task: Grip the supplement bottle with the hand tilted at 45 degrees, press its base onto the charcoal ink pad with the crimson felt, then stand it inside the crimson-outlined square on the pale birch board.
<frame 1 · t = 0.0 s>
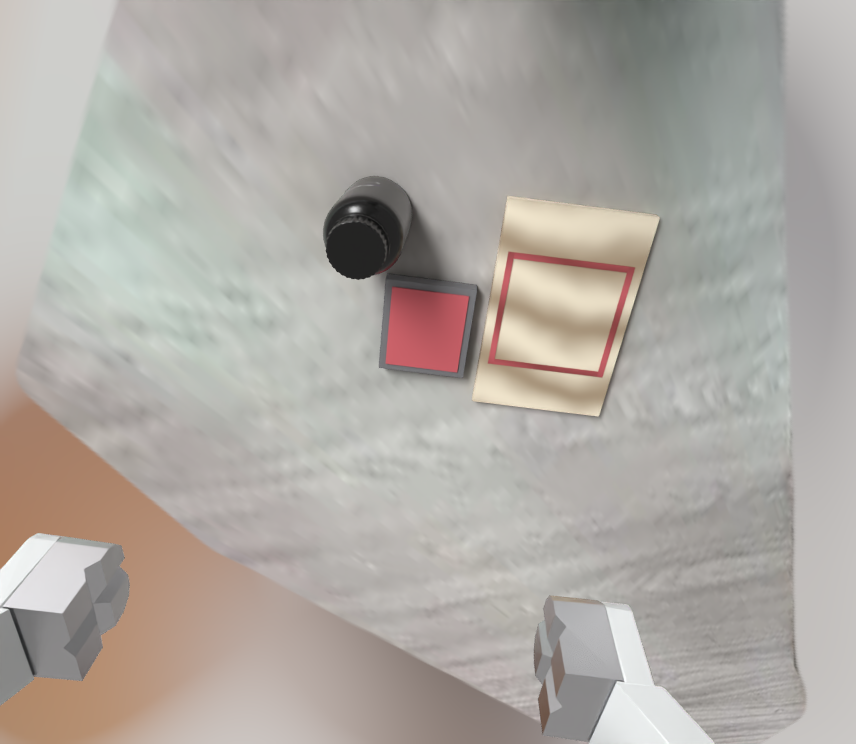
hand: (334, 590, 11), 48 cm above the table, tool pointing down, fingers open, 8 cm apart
supplement bottle: (377, 211, 56), on the table
marked board: (556, 313, 60), on the table
ink pad: (426, 324, 61), on the table
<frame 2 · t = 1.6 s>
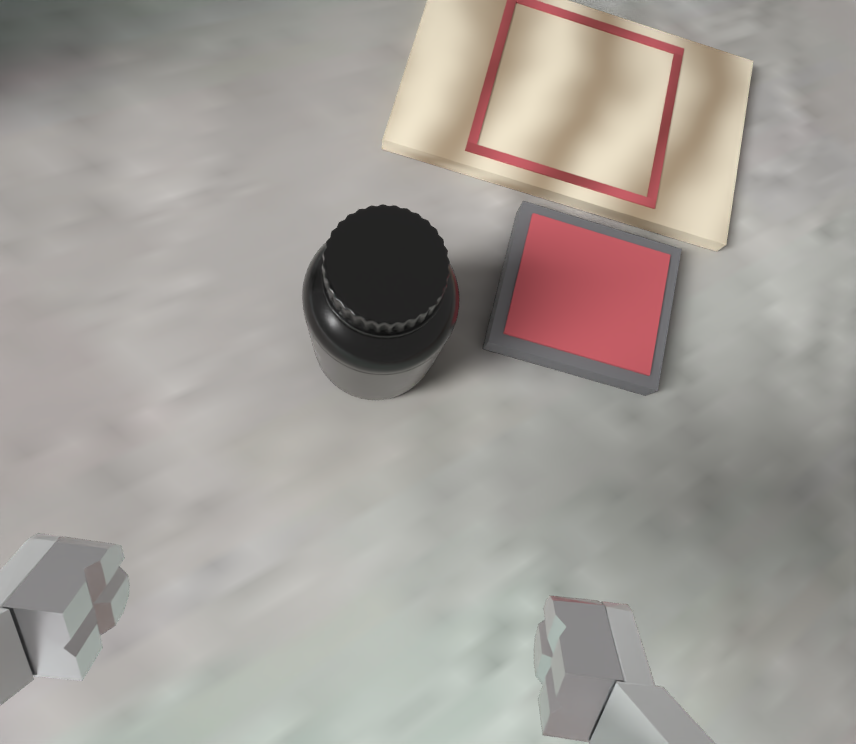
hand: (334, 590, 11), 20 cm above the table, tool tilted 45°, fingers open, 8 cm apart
supplement bottle: (375, 345, 33), on the table
marked board: (573, 108, 38), on the table
ink pad: (579, 302, 35), on the table
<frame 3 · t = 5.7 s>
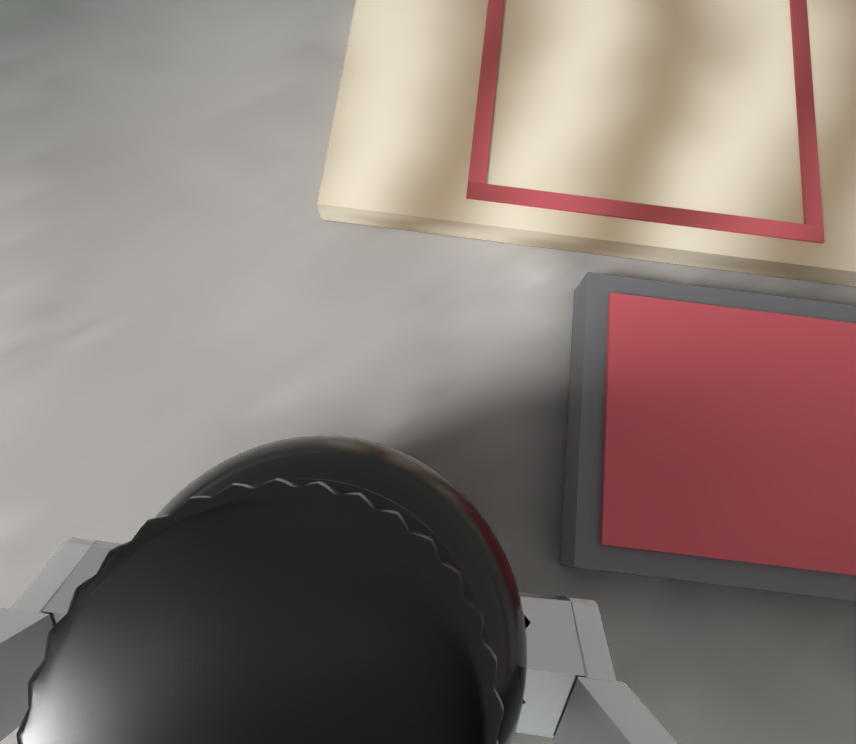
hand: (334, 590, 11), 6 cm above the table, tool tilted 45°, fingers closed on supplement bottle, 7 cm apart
supplement bottle: (355, 592, 17), on the table, touching gripper
marked board: (636, 93, 22), on the table
ink pad: (720, 437, 19), on the table
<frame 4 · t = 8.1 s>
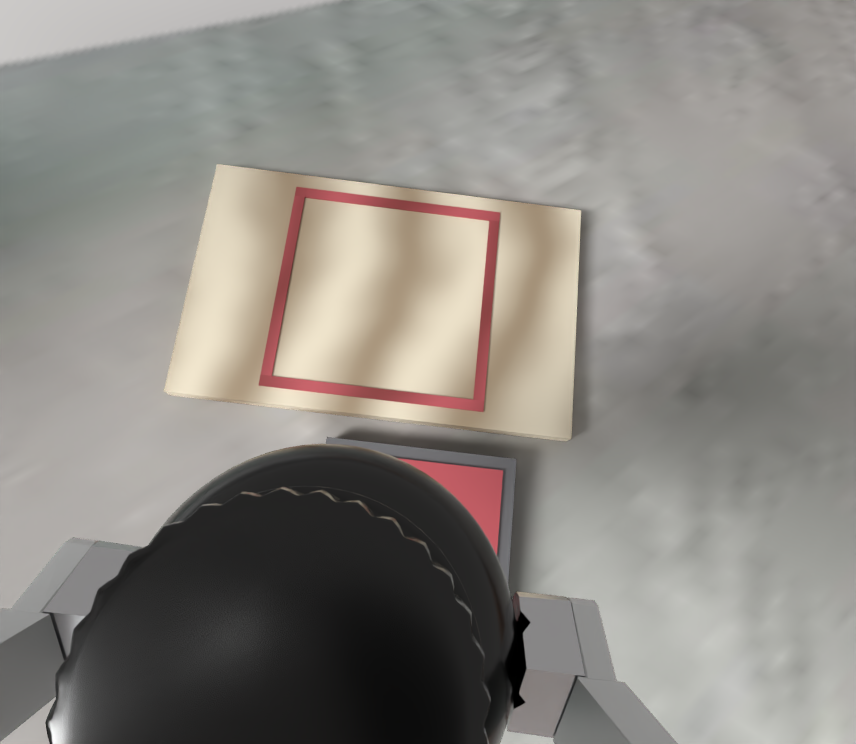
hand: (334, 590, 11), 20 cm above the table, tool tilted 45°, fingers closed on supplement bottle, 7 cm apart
supplement bottle: (356, 592, 18), point 13 cm above the table, touching gripper
marked board: (386, 301, 34), on the table
ink pad: (411, 536, 31), on the table
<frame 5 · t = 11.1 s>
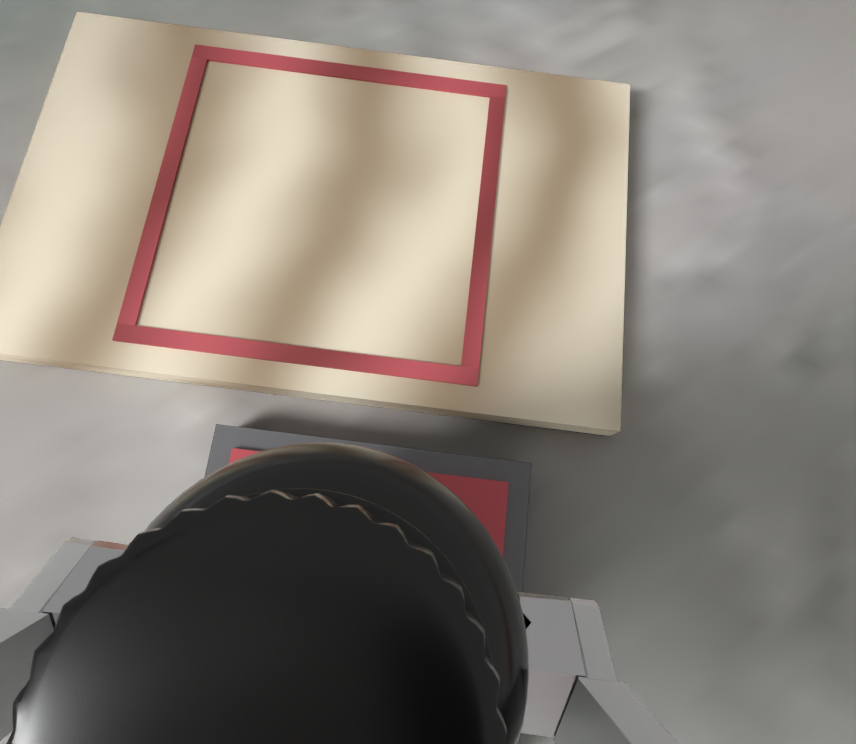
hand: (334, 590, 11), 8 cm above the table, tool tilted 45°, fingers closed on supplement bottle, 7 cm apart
supplement bottle: (353, 598, 17), point 2 cm above the table, touching gripper, ink pad
marked board: (329, 218, 22), on the table
ink pad: (356, 590, 19), on the table
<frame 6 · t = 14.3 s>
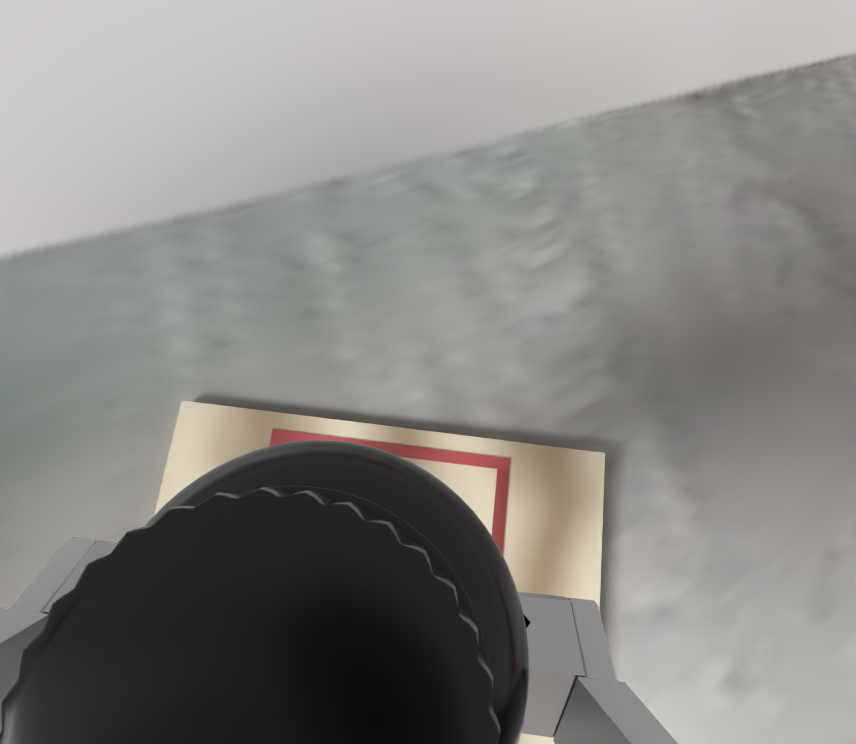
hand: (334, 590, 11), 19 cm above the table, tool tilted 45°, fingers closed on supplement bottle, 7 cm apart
supplement bottle: (357, 597, 17), point 13 cm above the table, touching gripper
marked board: (375, 567, 29), on the table
when the fingers open (9 cm above the table, at t = 17.1 s): supplement bottle drops 1 cm, resting on marked board.
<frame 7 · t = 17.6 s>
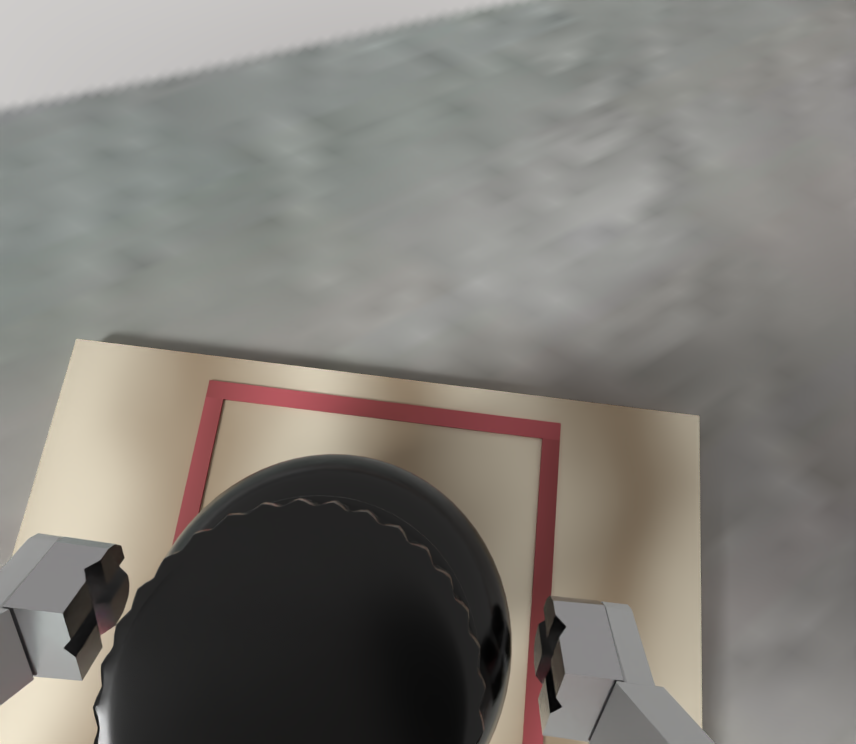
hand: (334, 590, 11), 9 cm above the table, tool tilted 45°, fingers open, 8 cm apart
supplement bottle: (359, 591, 19), point 1 cm above the table, touching marked board
marked board: (361, 585, 20), on the table
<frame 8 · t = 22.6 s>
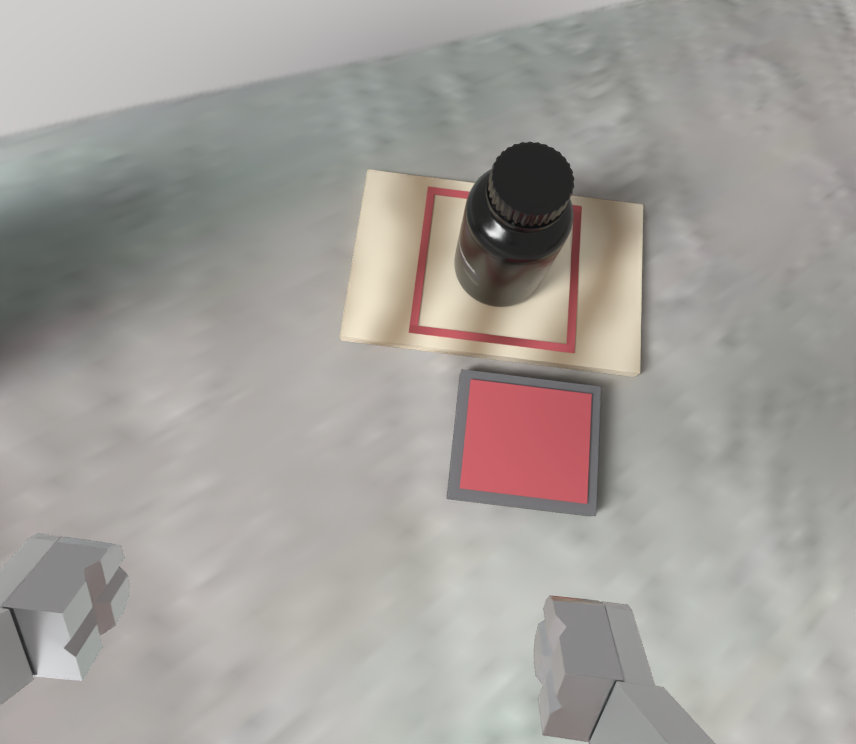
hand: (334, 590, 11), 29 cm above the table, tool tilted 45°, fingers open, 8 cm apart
supplement bottle: (497, 269, 45), point 1 cm above the table, touching marked board
marked board: (496, 272, 45), on the table
ink pad: (522, 443, 42), on the table
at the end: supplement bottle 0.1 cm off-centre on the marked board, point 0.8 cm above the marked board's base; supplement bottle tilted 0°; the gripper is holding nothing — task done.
